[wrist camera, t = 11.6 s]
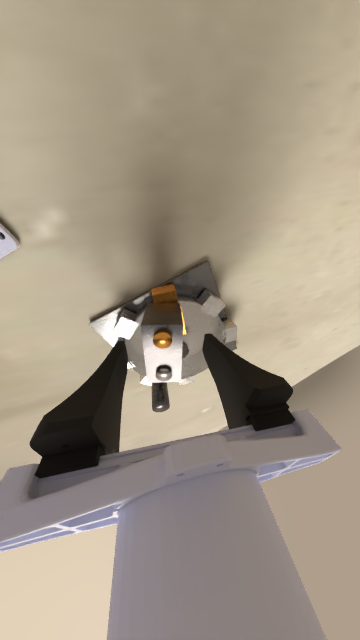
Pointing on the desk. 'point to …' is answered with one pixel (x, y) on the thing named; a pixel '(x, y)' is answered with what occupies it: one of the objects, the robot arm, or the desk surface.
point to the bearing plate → (185, 286)
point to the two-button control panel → (162, 342)
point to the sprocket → (196, 323)
